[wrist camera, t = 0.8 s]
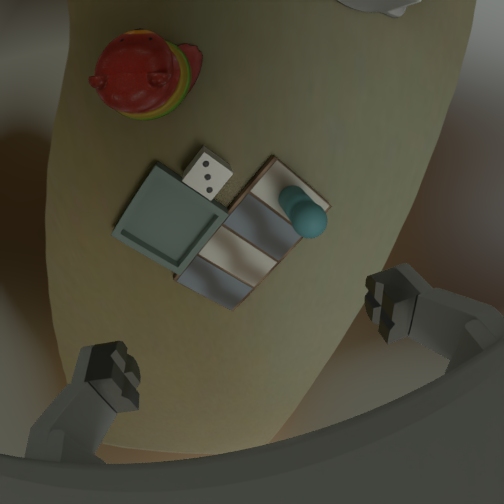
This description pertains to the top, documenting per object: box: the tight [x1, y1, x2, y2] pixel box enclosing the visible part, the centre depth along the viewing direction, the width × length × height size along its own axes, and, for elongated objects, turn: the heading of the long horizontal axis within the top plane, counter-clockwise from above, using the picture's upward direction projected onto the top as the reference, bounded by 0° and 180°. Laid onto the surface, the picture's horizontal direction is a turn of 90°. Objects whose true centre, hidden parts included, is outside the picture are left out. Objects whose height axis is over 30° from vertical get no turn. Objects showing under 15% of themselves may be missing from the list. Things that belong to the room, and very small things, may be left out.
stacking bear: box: [89, 29, 203, 120], centre depth 25 cm, size 11×10×18 cm
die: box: [182, 146, 233, 201], centre depth 38 cm, size 4×4×4 cm
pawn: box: [278, 185, 327, 238], centre depth 39 cm, size 4×4×10 cm
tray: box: [111, 162, 229, 275], centre depth 42 cm, size 12×12×2 cm
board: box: [173, 155, 332, 311], centre depth 46 cm, size 24×12×1 cm, turn 139°
